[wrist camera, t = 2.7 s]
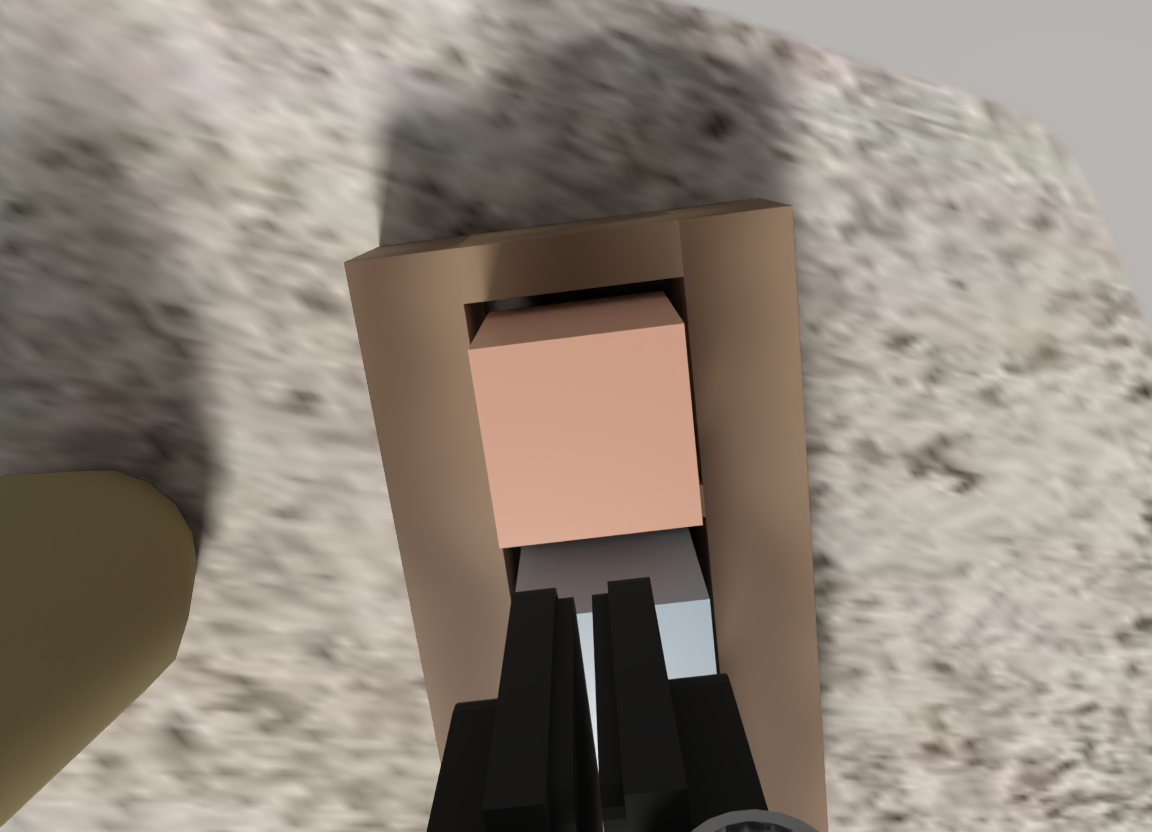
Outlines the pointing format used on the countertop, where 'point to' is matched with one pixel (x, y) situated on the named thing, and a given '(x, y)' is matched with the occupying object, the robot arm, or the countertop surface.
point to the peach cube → (586, 419)
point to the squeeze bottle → (82, 613)
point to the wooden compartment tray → (722, 438)
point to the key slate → (627, 557)
